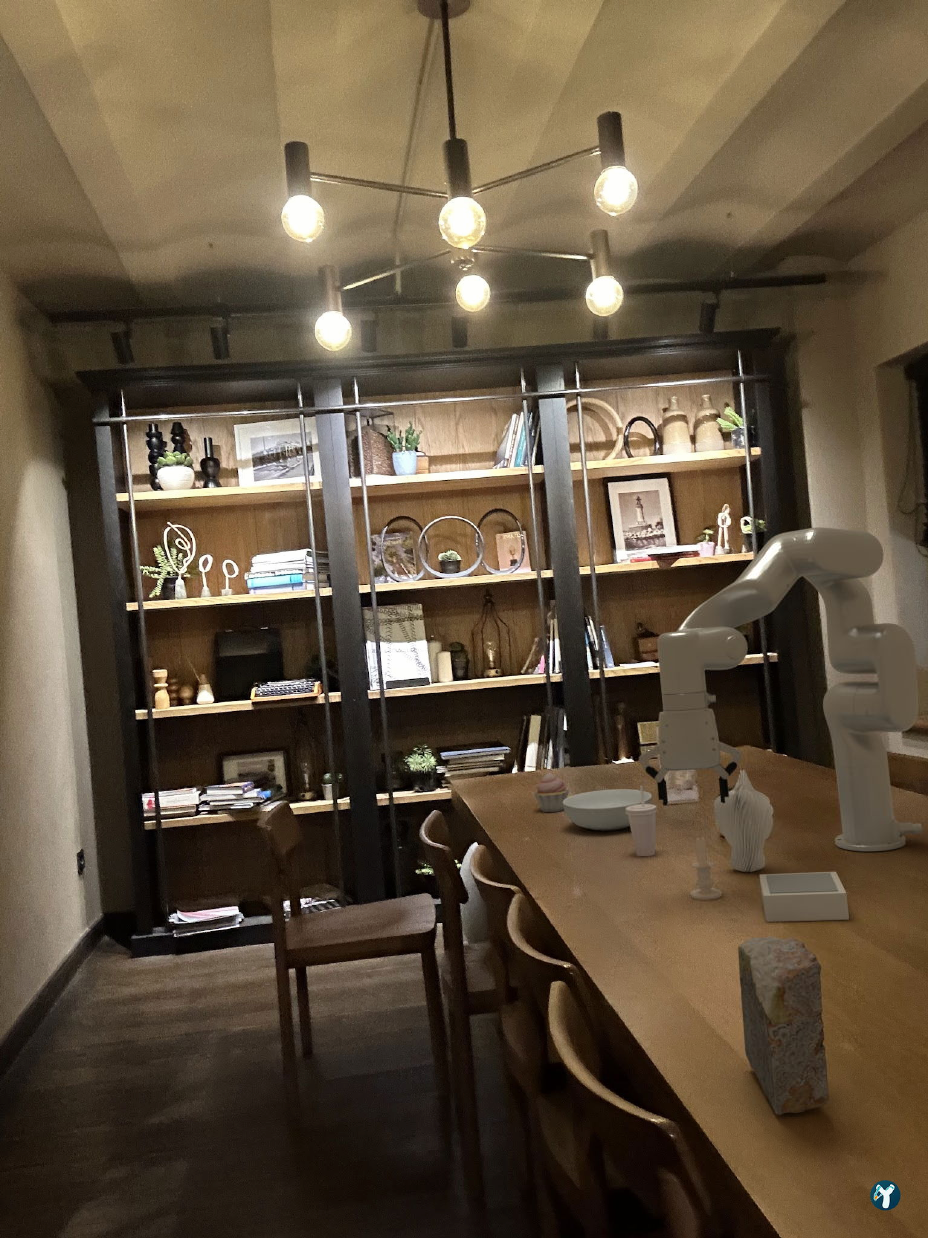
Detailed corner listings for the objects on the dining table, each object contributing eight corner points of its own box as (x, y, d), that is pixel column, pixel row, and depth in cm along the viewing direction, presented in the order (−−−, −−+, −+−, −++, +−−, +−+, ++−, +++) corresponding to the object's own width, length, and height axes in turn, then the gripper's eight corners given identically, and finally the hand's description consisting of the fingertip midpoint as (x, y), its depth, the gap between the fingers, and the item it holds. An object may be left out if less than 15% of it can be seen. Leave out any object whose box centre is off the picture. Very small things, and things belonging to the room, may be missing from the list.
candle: (716, 901, 161) (710, 839, 161) (686, 899, 164) (680, 838, 164) (725, 892, 166) (719, 831, 166) (696, 890, 169) (690, 831, 169)
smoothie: (661, 857, 193) (654, 788, 193) (629, 859, 194) (622, 790, 195) (661, 849, 199) (654, 782, 200) (630, 851, 201) (623, 784, 201)
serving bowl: (554, 838, 221) (551, 808, 221) (579, 818, 240) (576, 790, 240) (644, 836, 213) (641, 805, 213) (662, 816, 232) (659, 787, 232)
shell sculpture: (750, 878, 172) (739, 778, 172) (718, 870, 179) (707, 774, 180) (783, 869, 176) (773, 771, 176) (751, 861, 183) (741, 767, 183)
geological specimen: (744, 1069, 102) (729, 928, 103) (802, 1063, 102) (787, 922, 102) (773, 1120, 92) (756, 963, 92) (838, 1115, 92) (821, 957, 92)
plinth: (838, 896, 157) (835, 870, 157) (849, 919, 145) (846, 892, 145) (761, 898, 160) (759, 873, 160) (766, 921, 148) (763, 895, 148)
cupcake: (577, 806, 254) (573, 769, 255) (561, 814, 247) (557, 775, 247) (546, 806, 259) (542, 769, 260) (529, 814, 252) (525, 775, 252)
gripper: (736, 698, 167) (745, 796, 166) (635, 704, 171) (644, 801, 171) (737, 701, 160) (747, 805, 159) (632, 708, 164) (641, 809, 163)
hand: (694, 802), depth 165 cm, fingers open, 9 cm apart
